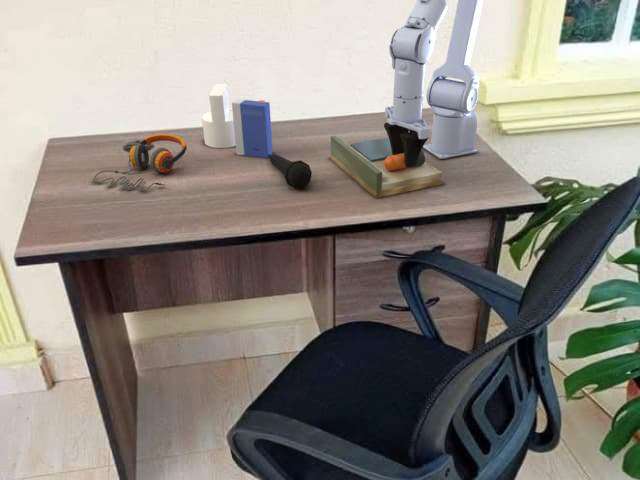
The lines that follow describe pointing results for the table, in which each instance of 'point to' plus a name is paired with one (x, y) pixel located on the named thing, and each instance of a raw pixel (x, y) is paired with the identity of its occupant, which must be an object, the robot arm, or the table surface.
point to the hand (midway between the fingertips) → (404, 161)
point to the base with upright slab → (219, 119)
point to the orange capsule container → (401, 161)
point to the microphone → (292, 171)
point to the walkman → (252, 128)
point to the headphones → (159, 159)
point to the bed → (381, 168)
